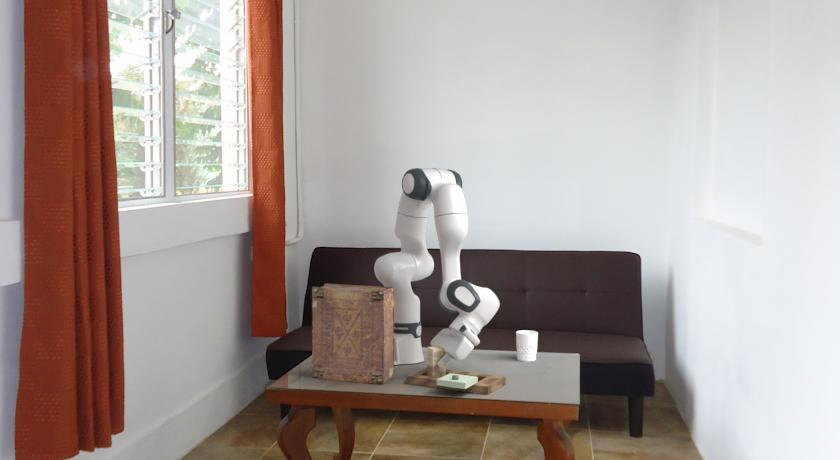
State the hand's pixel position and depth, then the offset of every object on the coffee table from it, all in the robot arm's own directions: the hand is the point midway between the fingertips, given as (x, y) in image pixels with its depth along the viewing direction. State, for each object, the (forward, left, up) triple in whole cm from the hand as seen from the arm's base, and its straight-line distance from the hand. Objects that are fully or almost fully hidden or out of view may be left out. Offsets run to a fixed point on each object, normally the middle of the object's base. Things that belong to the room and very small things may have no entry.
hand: (434, 363), depth 274 cm
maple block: (0, 0, -6) cm, 6 cm away
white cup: (+14, +44, -6) cm, 47 cm away
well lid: (+12, -9, -3) cm, 16 cm away
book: (-26, -9, -6) cm, 28 cm away
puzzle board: (+7, 0, -6) cm, 10 cm away
